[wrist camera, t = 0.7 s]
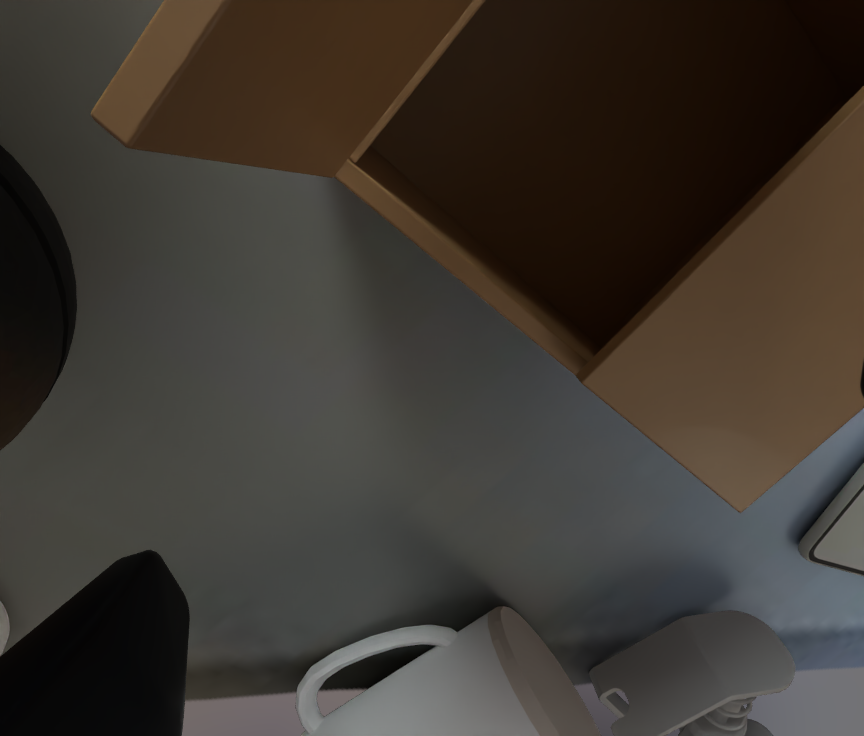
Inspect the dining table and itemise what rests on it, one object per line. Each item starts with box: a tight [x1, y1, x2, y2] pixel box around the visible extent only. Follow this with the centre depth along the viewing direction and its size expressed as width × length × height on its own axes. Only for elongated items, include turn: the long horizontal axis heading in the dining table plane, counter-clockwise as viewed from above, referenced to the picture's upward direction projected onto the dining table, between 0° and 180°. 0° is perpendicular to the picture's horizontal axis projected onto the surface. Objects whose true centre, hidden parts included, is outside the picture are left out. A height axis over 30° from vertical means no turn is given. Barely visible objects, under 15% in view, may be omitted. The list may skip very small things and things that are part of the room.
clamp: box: [589, 611, 795, 736], centre depth 34 cm, size 4×10×15 cm
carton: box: [334, 0, 864, 513], centre depth 16 cm, size 13×12×9 cm
